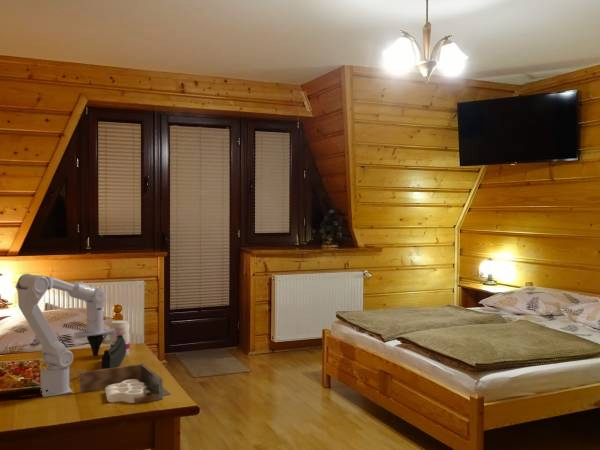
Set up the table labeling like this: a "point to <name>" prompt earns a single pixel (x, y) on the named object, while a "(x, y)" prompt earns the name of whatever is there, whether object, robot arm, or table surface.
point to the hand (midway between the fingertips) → (95, 355)
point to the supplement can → (121, 333)
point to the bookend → (153, 382)
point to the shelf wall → (113, 380)
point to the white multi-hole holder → (126, 391)
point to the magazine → (114, 354)
